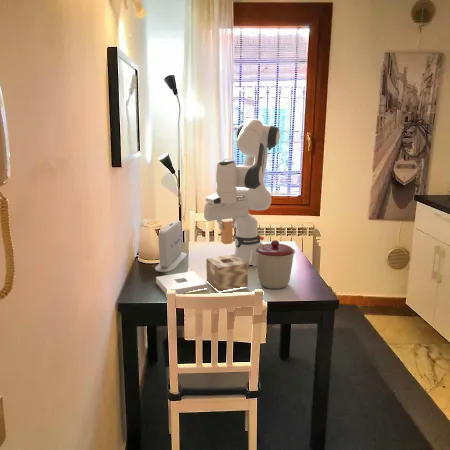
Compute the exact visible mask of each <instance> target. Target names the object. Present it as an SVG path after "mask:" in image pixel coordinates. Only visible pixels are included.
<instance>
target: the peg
mask: <svg viewBox="0 0 450 450" xmlns="http://www.w3.org/2000/svg"><path fill="white" fill-rule="evenodd" d="M232 221H233V220H232V219H231V220H230V219H222V222H221V224H222V225H224V229H221V243H222V244H224V245H230V244H231V245H232V244H233V228H232Z"/></svg>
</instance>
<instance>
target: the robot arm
mask: <svg viewBox="0 0 450 450" xmlns="http://www.w3.org/2000/svg"><path fill="white" fill-rule="evenodd" d="M280 137H281V134H280V129H279V127H277V126H274V125H269V124H264V123H262V121H261V120H259V119H257V118H252V119H249V120H248V121H246V122H243V123H241V124H239V125H238V126H237V129H236V145H237V146H236V147H238V150H239V151H240V152H241V153H242V154H243V155H245V156H246V157H245V160H244V165H239V164H238V165H237V164H236V160H234V159H233V158H224V159H221V160H219V161H218V162H217V165H216V172H215V173H216V180H215V181H216V185H217V186H216V192H215V193H213V194H211V195H208V196H206V198H205V202H206V203H205V205H204V209H203V210H204V211H203V218H204V220H206V221H208V222H212V221H216V222H217V224H218V225H219V226H218V227H219V230H222V229H224V225H222V224H221V222H222V220H230V219H231V221H232V229H234V228H235V235H234V236H235V237H234V243H235V247H234V255H236V256H237V257H239V258H241V259H242V260H244V261H245V262H247V263H248V266H249V265H253V266H252V267H257V257H256V253H255V249H256V248H257V247H259V246H261V245H264V244H265V243H263V242H262V241H264V239H265V238H264V237H265V236H262V235H259V234H258V221H257V219H256V218H255V217H254V215H252V214H251V213H250V211H266V210H269V208H270V206H272V205H271V204H272V195H271V193H270V191H268V190H267V189H268V188H266V185H265V183H264V177H265V171H266V166H267V162H268V151H271V150H272V149H273V148H274V147H276V146H277V145H278V143H279V141H280ZM249 210H250V211H249Z"/></svg>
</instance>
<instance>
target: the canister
mask: <svg viewBox="0 0 450 450" xmlns="http://www.w3.org/2000/svg"><path fill="white" fill-rule="evenodd" d="M263 244H264V245H261V246H259V247H257V248H256V249H255V253H256V257H257V266H256V267H257V275H258V281H259V283H260V285H261V286H263V287H264V288H266V289H275V290H277V289H278V290H280V289H283V288H285V287H287V286H288V284H289V283H290V279H291V275H292V269H293V262H294V255H295V254H296V250H295V249H294V248H293V247H292V246H290V245H287V244H282V243H280V242H279V241H278V240H277V239H273V240H272V241H271V242H270V243H263Z"/></svg>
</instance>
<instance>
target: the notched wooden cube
mask: <svg viewBox="0 0 450 450" xmlns="http://www.w3.org/2000/svg"><path fill="white" fill-rule="evenodd" d="M205 263H206V282H207V281H208V282H209V283H210V284H211V285H212V286H213V287H214V288H216V289H217V290H218V291H223V290H228V289H233V288H240V287H248V288H249V265H248V263H247V262H245V261H244V260H242V259H241V258H239V257H237V256H236V255H235V253H234V254H227V255H220V256H213V257H208V258H207V257H206V262H205Z"/></svg>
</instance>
